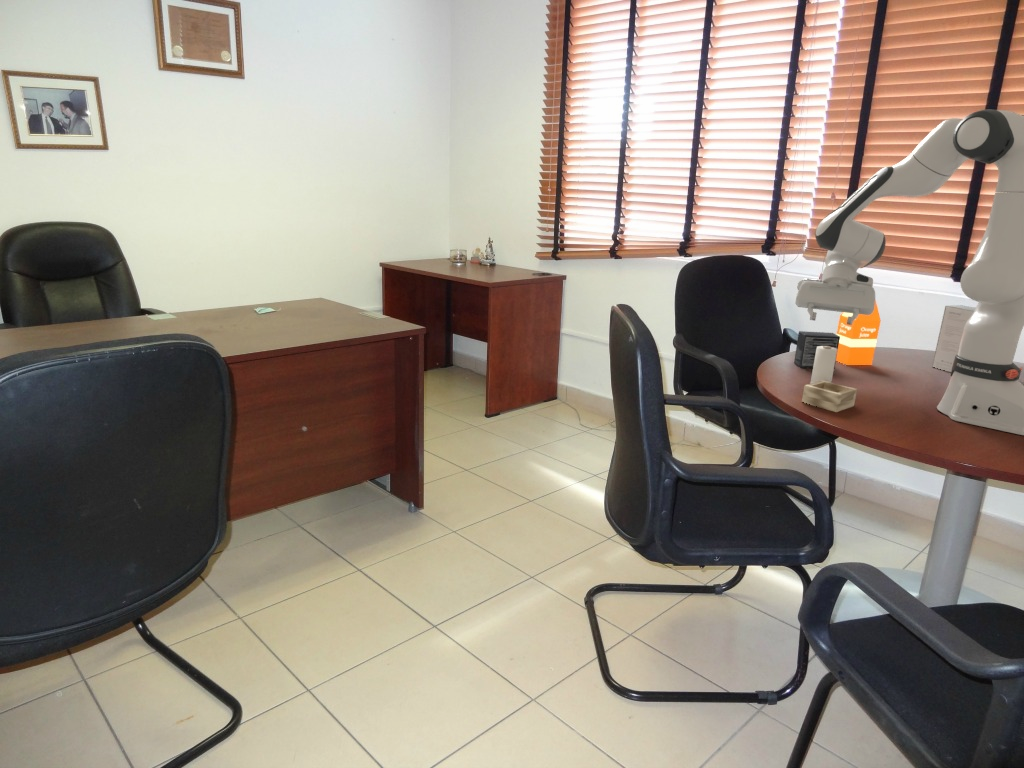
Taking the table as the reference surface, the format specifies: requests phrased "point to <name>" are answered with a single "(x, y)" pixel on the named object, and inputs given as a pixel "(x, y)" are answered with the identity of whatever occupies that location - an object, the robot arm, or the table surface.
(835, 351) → the paper roll
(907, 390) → the table surface
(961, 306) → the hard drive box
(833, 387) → the open wooden box
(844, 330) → the orange juice
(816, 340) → the small box
